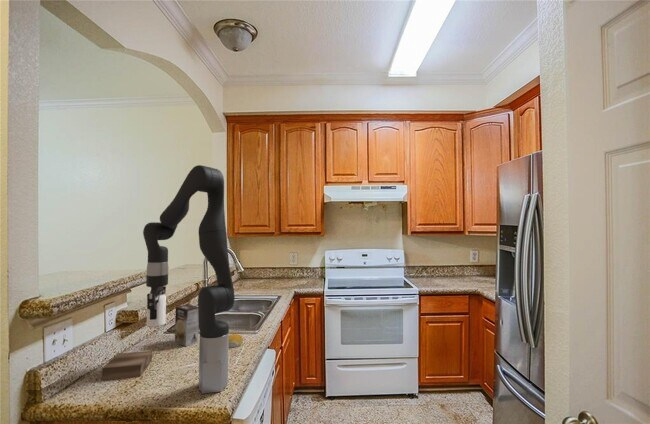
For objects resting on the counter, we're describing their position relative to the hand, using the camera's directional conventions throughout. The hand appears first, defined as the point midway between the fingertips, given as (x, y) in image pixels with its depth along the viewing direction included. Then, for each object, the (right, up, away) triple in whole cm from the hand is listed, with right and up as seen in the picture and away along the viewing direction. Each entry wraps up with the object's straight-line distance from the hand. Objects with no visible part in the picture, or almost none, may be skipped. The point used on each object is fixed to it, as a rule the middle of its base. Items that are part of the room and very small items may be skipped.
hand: (156, 316), depth 120 cm
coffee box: (+3, -19, +20) cm, 28 cm away
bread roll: (+25, -19, +19) cm, 36 cm away
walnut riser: (-7, -18, -7) cm, 20 cm away
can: (0, -3, 0) cm, 3 cm away
